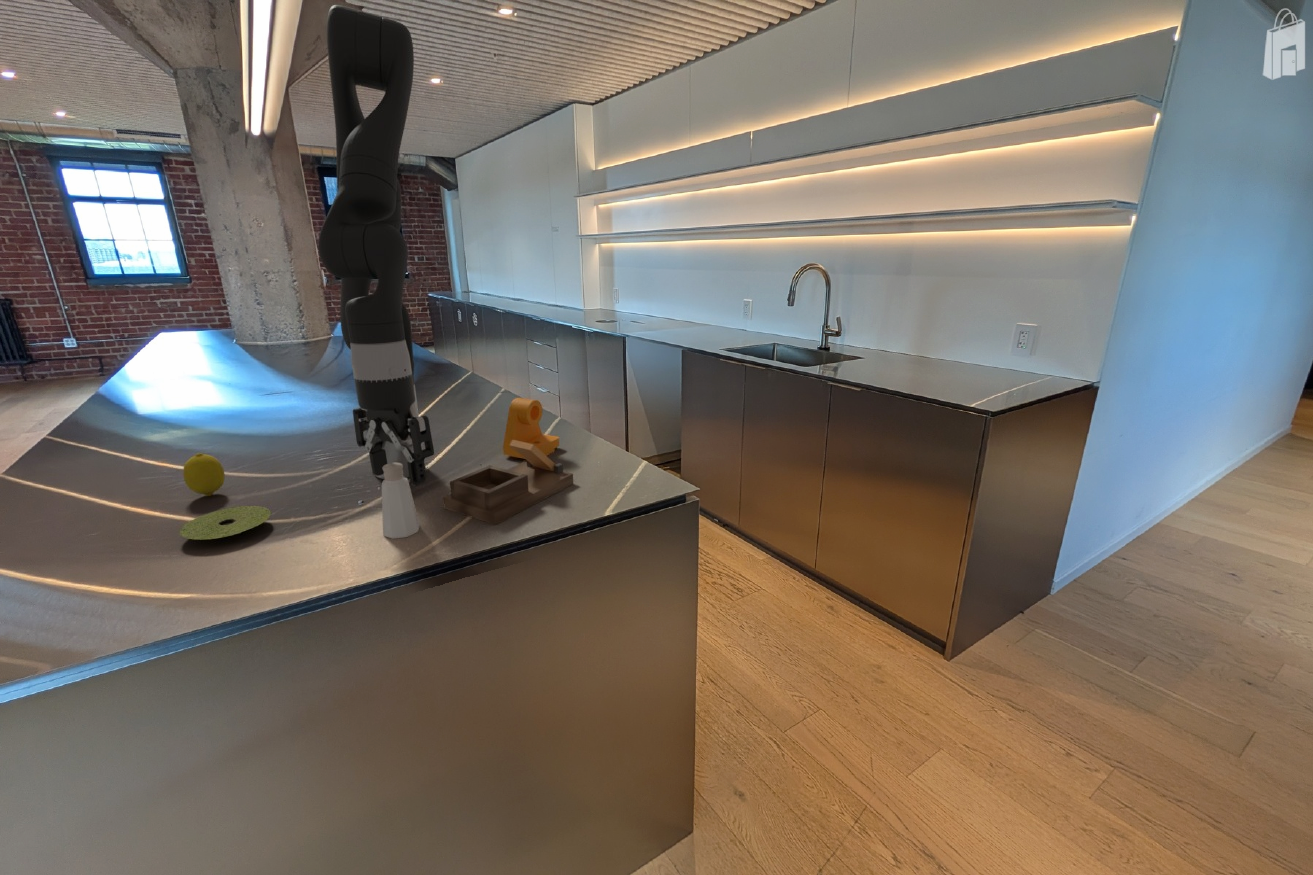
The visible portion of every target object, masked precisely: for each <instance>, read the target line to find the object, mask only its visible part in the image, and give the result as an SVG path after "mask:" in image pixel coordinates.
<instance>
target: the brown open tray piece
mask: <svg viewBox="0 0 1313 875" xmlns="http://www.w3.org/2000/svg"><path fill="white" fill-rule="evenodd" d="M573 484H574V474H573V473H572V472H568V471H564V463H560V462H559V463H556V465H554V471H550V470H546V469H542V468H538V467H534V466H533V465H532V464H531V463H530V462H529V461H527V460H526V461H524V462H521V463H519V464H516V465H514V466H512V467H509V468H507V469H505V468H502V467H497V466H493V465H486V466H485V467H482V468H479V469H478V470H475V471H473V472H470V473H468V474H465V475H463V476H460V477H458V478H455V479H453V480H451V481H449V487H450V494H447V495H446V496H443V497H442V500H443V508H444V509H445V510H449V511H451V512H456V513H458V514H461V515H463V516H464V515H465V516H467V517H470V518H473V519H476V520H479V521H483V522H484V523H488V524H491V525H494V526H496V525H499V524H500V523H502V522H504V521H506V520H507V519H510V518H511V517H513V516H515V515H517V514H519V513H521V512H522V511H524V510H526V509H529V508H531V507H532V506H534V505H536V504H538V503H539V502H541V501H543V500H546V499H547V498H549V497H551V496H553V495H555V494H556V493H558V492H560V491H562V490H565V489H566V488H567V487H569V486H571V485H573Z"/></svg>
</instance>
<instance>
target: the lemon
mask: <svg viewBox="0 0 1313 875" xmlns="http://www.w3.org/2000/svg"><path fill="white" fill-rule="evenodd" d="M182 471H183V474H182V475H183V480H184V482H185V485H186V486H187V487H188V489H189V490H191V491H192V492H193V493H196V494H199V495H204V496H206V497H210V496H212V495H213V494H214V493H215V492H217V491H218V490H220V489H221V488H222V487H223V485H224V482H225V470H224V467H223V466H222V463H221V462H220V461H219V460H218V459H217V458H216V457H214V456H212V455H209V454H203V453H202V452H198V453H196V454H195V455H193V456H191V457H190V458H189V459H187V461H186V462H185V464H184V466H183V470H182Z"/></svg>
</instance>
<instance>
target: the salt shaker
mask: <svg viewBox="0 0 1313 875" xmlns="http://www.w3.org/2000/svg"><path fill="white" fill-rule="evenodd" d="M382 469H383V471H384V477H385V479H383V481H382V483H381V511H382V536H384V537H387V538H389V539H392V540H395V539H403V538H408V537H410V536H412V535H414V534H416V533H418V532H419V531H420V530H419V529H420V520H419V518H418V514H417V509H416V506H415V502H414V498H413V493H412V490H411V486H410V481H409V478H408V477H406V478H405V477H404V476H403V470H402V469H403V465H402V464H401V463H389V464H386V465H384V466H383V467H382Z"/></svg>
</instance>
